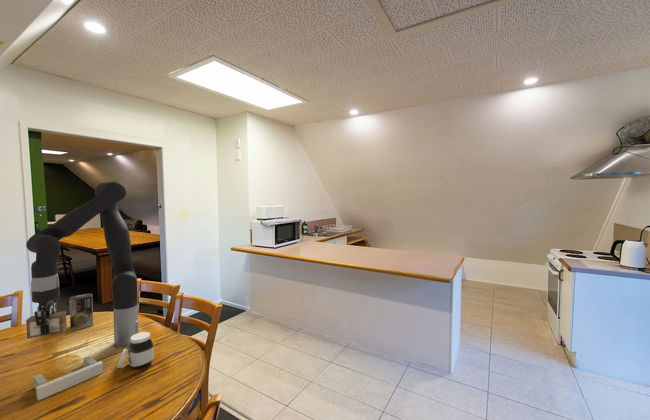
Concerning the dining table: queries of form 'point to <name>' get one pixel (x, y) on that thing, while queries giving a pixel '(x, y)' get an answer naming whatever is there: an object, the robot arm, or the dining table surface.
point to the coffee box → (81, 311)
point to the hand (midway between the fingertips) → (47, 331)
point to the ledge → (67, 379)
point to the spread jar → (138, 351)
